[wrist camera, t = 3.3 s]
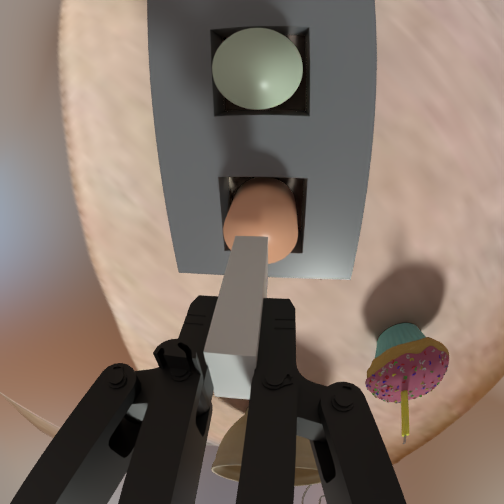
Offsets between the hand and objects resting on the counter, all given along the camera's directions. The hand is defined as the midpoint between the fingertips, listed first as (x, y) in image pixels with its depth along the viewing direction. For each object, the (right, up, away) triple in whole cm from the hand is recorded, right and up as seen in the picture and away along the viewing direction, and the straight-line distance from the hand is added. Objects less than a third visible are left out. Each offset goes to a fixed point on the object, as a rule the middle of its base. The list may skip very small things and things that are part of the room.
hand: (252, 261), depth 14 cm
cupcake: (+15, -8, +13) cm, 21 cm away
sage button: (+1, +10, 0) cm, 10 cm away
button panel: (+1, +11, +1) cm, 11 cm away
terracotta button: (+1, +3, +5) cm, 6 cm away
